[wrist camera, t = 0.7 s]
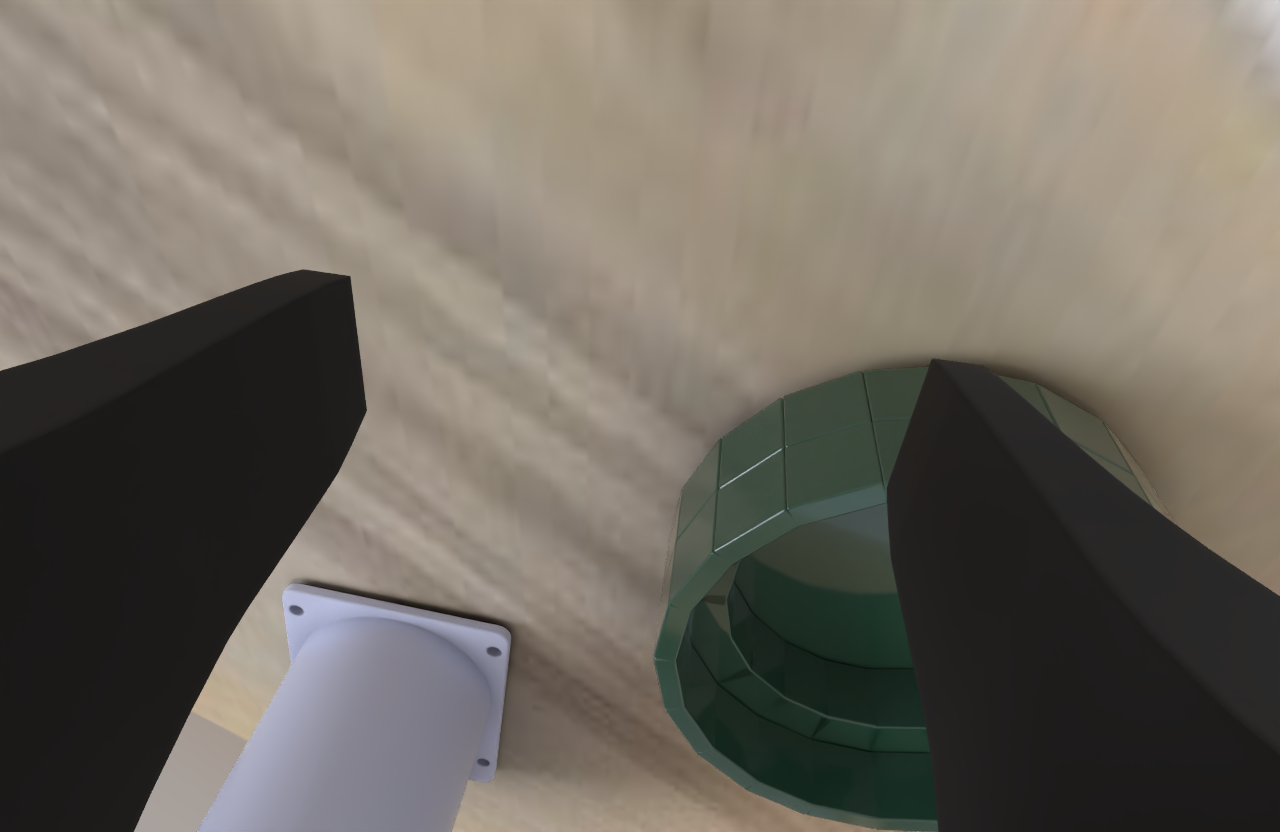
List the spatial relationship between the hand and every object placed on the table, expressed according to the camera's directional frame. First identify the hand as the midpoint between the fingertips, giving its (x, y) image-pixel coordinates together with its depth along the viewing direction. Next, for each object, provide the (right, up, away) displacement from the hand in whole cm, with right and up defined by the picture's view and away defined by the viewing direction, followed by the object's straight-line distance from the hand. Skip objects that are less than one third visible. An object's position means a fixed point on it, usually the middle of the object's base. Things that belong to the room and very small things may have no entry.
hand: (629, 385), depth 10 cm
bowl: (+8, -4, +14) cm, 17 cm away
